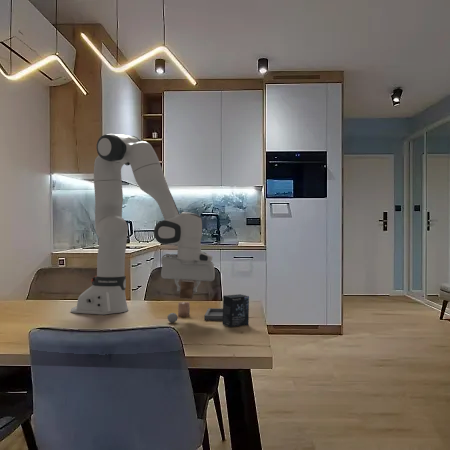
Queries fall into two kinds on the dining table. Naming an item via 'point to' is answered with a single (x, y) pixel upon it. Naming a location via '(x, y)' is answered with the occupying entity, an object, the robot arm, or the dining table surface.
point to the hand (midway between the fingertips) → (187, 291)
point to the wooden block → (183, 309)
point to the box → (235, 310)
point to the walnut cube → (186, 289)
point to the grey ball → (172, 317)
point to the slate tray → (214, 314)
